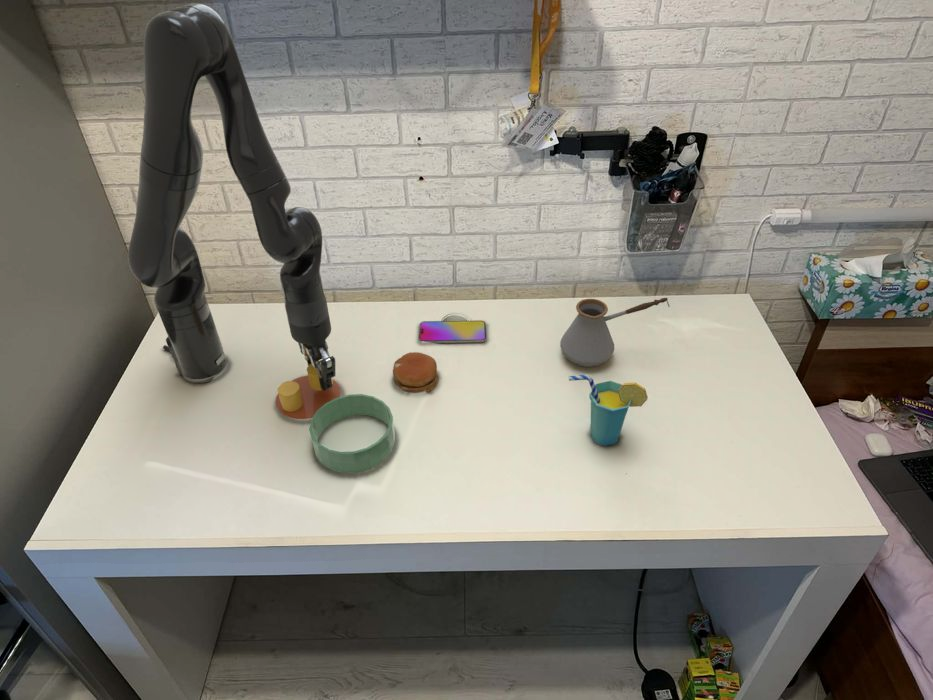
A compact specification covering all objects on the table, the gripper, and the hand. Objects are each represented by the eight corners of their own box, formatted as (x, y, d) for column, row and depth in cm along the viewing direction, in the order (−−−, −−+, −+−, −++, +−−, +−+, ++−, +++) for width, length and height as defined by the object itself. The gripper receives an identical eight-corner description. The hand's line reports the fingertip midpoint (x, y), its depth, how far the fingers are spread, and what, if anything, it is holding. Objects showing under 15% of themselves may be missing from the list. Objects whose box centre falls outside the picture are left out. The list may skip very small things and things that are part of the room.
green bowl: (301, 466, 119) (294, 444, 116) (335, 410, 130) (331, 388, 127) (377, 483, 116) (374, 461, 112) (406, 424, 127) (404, 401, 123)
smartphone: (486, 340, 145) (418, 341, 145) (486, 342, 146) (418, 343, 146) (485, 320, 151) (420, 321, 151) (485, 322, 151) (420, 323, 152)
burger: (444, 389, 135) (443, 372, 132) (400, 400, 132) (398, 383, 129) (430, 360, 142) (429, 343, 139) (388, 370, 140) (386, 353, 137)
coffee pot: (562, 373, 138) (567, 316, 128) (556, 339, 146) (561, 283, 137) (664, 372, 137) (677, 314, 128) (652, 338, 146) (664, 282, 136)
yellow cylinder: (278, 409, 130) (273, 393, 127) (288, 395, 133) (283, 379, 130) (297, 413, 129) (293, 397, 126) (306, 399, 132) (303, 382, 129)
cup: (562, 448, 122) (569, 389, 112) (562, 418, 127) (568, 359, 118) (639, 453, 120) (652, 394, 111) (635, 422, 126) (647, 364, 117)
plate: (264, 415, 130) (263, 412, 129) (295, 373, 139) (294, 370, 139) (324, 428, 127) (323, 424, 126) (351, 383, 136) (351, 380, 136)
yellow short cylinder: (306, 388, 131) (302, 373, 129) (316, 373, 135) (313, 358, 132) (327, 392, 130) (324, 377, 128) (336, 377, 134) (334, 362, 131)
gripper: (273, 301, 124) (289, 369, 135) (305, 340, 115) (319, 409, 126) (310, 288, 127) (322, 355, 138) (343, 325, 118) (354, 393, 129)
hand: (321, 380), depth 132 cm, fingers closed on yellow short cylinder, 4 cm apart
